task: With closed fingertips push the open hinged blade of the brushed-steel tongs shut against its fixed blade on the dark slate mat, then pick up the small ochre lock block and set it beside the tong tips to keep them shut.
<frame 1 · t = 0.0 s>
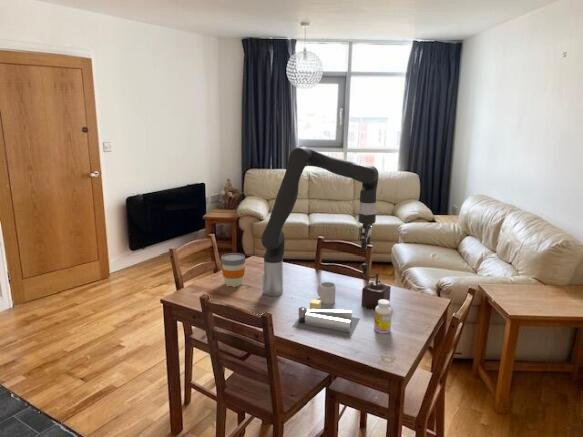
hand: (365, 247, 190), 29 cm above the table, fingers open, 8 cm apart
lock block: (315, 313, 189), point 1 cm above the table, touching mat
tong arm: (329, 315, 182), point 3 cm above the table, hinge at 18.0°
cup: (325, 301, 204), on the table
mat: (326, 323, 182), on the table
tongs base: (302, 322, 182), resting on mat
reusable coffee cup: (233, 284, 224), on the table
coffee grinder: (370, 304, 201), on the table
supplement bottle: (382, 330, 177), on the table
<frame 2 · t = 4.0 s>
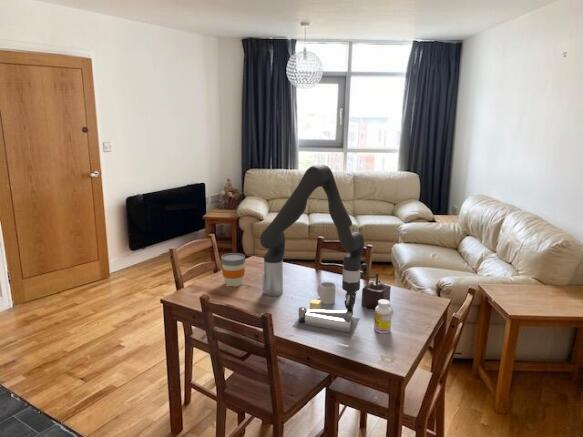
hand: (349, 315, 185), 2 cm above the table, fingers closed
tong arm: (329, 315, 182), point 3 cm above the table, hinge at 16.4°, touching gripper
everything else where it was.
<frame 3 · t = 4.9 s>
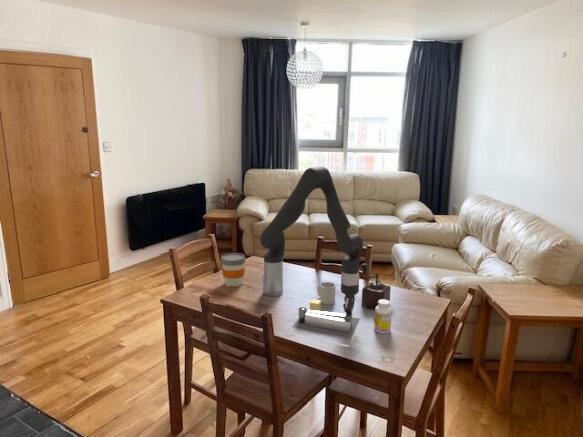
hand: (349, 319, 182), 2 cm above the table, fingers closed
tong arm: (329, 318, 180), point 3 cm above the table, hinge at 5.8°, touching gripper
everything else where it was.
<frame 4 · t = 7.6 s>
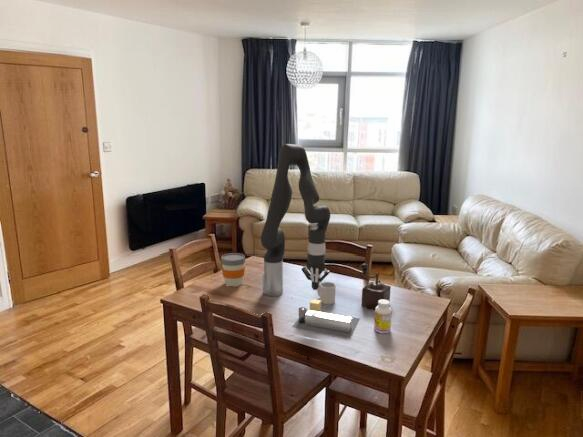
hand: (315, 289, 186), 13 cm above the table, fingers closed
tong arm: (329, 319, 179), point 3 cm above the table, hinge at 0.2°
everything else where it was.
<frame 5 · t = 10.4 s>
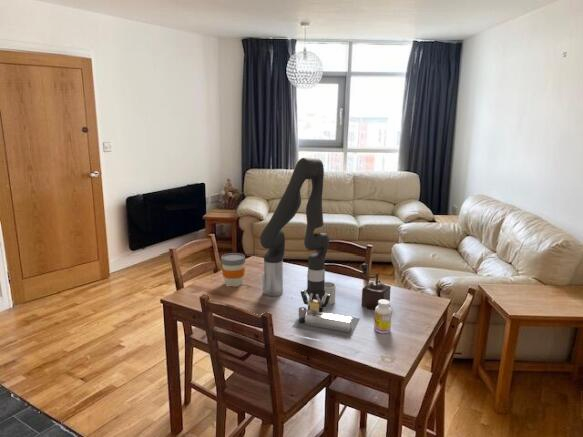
hand: (315, 313, 189), 1 cm above the table, fingers closed on lock block, 4 cm apart
lock block: (315, 313, 189), point 1 cm above the table, touching gripper, mat
everything else where it was.
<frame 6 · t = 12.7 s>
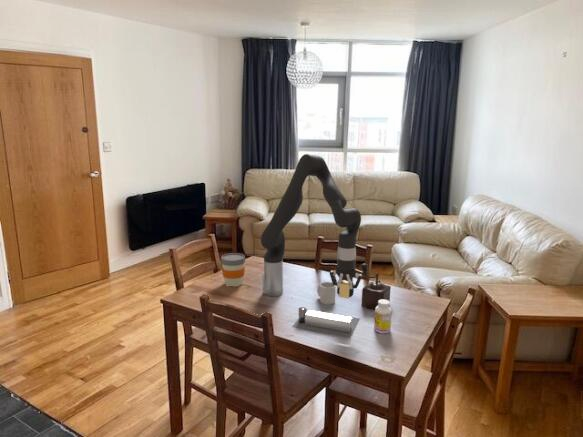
hand: (345, 295, 178), 13 cm above the table, fingers closed on lock block, 4 cm apart
lock block: (345, 295, 178), point 13 cm above the table, touching gripper
everything else where it was.
when the fingers open (2 cm above the table, at t = 15.0 s): lock block drops 1 cm, resting on mat.
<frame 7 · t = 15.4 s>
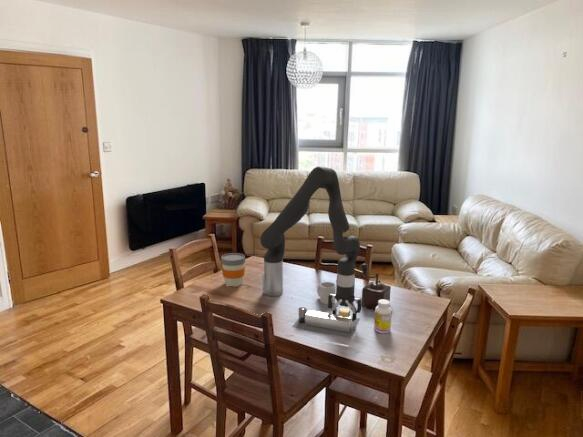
hand: (344, 318, 181), 3 cm above the table, fingers open, 7 cm apart
lock block: (343, 323, 181), point 1 cm above the table, touching mat
everything else where it was.
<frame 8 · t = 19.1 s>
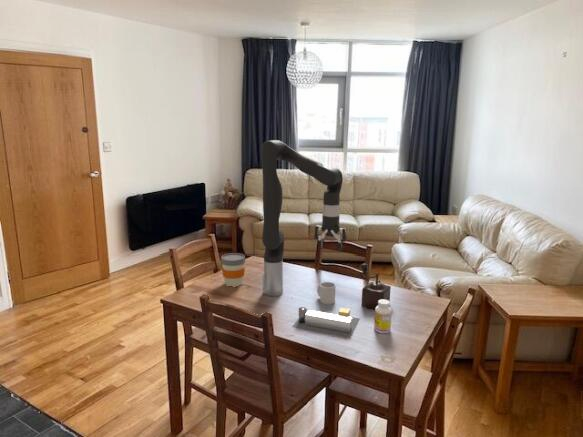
hand: (330, 249, 191), 28 cm above the table, fingers open, 8 cm apart
nothing on the table moved.
at the end: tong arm at +0° (first picture: +18°); lock block inside the target area (0.3 cm from its centre), point 0.6 cm above the table; lock block tilted 0° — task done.
